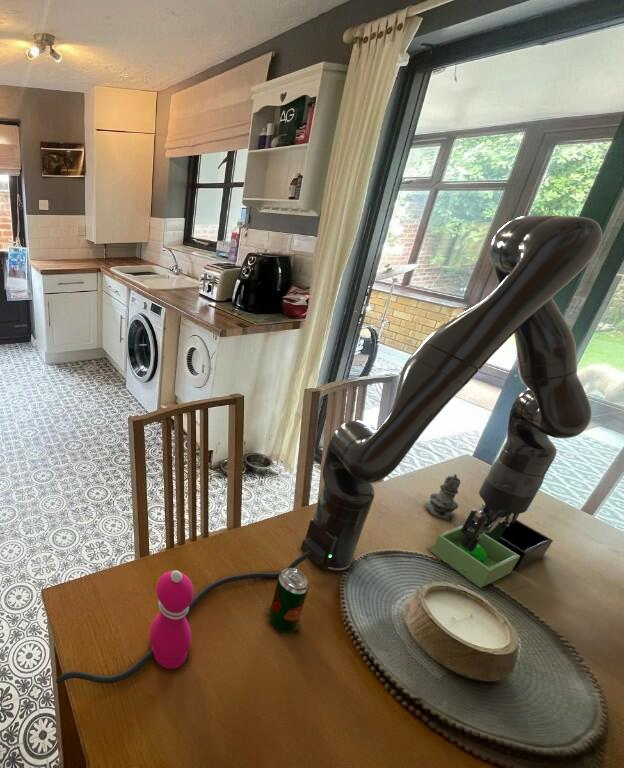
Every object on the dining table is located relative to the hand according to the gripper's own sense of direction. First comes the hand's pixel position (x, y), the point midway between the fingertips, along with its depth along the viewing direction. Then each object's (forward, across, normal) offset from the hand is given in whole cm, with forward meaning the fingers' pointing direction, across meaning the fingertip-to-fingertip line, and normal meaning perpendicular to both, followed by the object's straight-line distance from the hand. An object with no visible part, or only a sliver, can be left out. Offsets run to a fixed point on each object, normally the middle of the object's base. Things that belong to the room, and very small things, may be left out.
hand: (479, 542), depth 89 cm
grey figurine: (+6, -10, -13) cm, 18 cm away
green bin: (+6, 0, 0) cm, 6 cm away
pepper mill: (+6, +72, -7) cm, 73 cm away
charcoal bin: (+6, -12, 0) cm, 13 cm away
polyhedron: (+5, +1, 0) cm, 5 cm away
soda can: (+6, +49, -4) cm, 49 cm away
